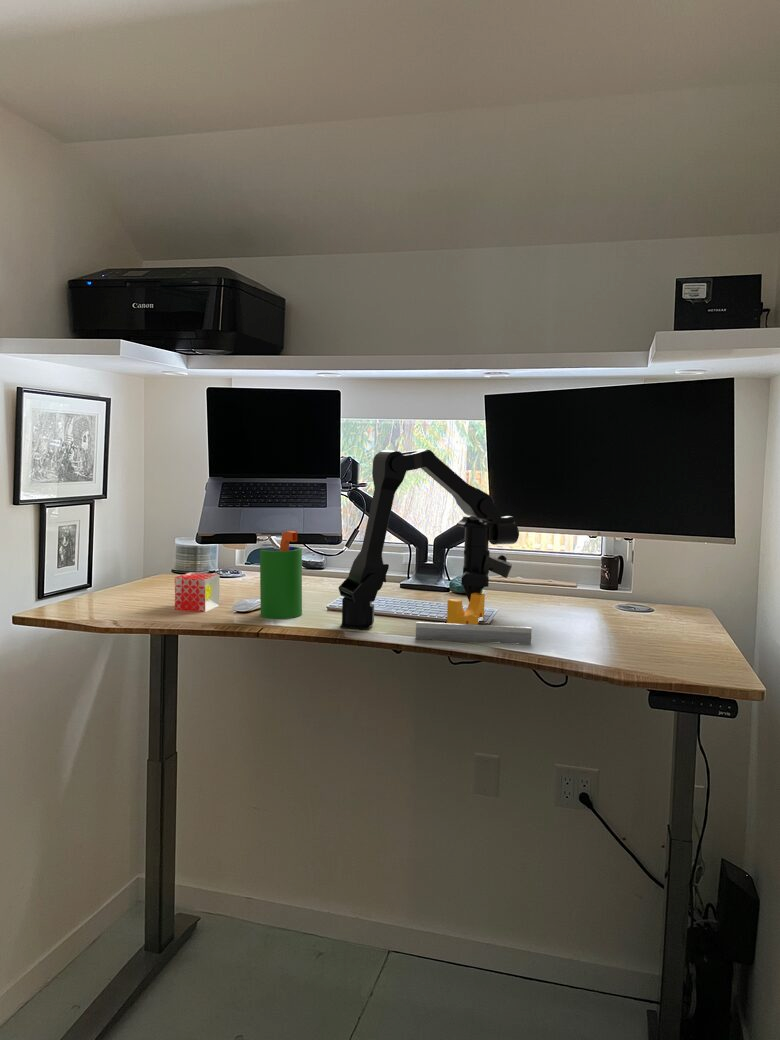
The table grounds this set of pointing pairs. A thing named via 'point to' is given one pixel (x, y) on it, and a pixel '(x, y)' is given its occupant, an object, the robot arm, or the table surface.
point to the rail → (473, 632)
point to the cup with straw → (281, 580)
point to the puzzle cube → (197, 592)
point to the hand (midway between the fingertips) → (474, 609)
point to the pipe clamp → (471, 613)
